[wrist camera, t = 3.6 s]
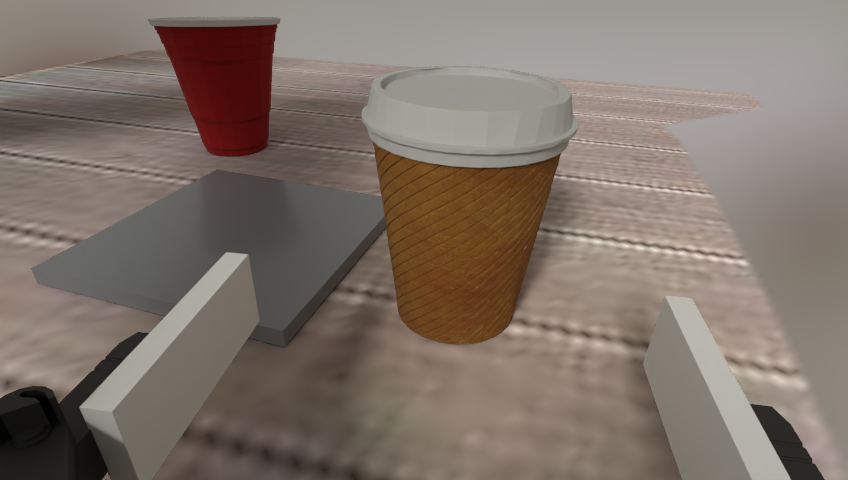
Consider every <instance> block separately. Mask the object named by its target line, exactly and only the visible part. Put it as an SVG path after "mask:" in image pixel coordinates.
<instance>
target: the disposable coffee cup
mask: <svg viewBox="0 0 848 480" xmlns="http://www.w3.org/2000/svg"><path fill="white" fill-rule="evenodd" d="M362 122H363V123H364V125H365V126H366V127H367V128H368V135H369V137H370V139H371V140H372V141H373V144H374V149H375V157H376V162H377V171H378V176H379V182H380V190H381V195H382V203H383V209H384V216H385V222H386V229H387V236H388V243H389V249H390V256H391V262H392V269H393V276H394V282H395V289H396V296H397V303H398V311H399V314H400V316H401V319H402V320H403V321H404V323H405V324H406V325H407V326H408V327H409V328H411V329H412V330H413V331H414V332H416V333H418V334H420V335H422V336H423V337H426V338H429V339H432V340H435V341H438V342H444V343H449V344H471V343H477V342H482V341H485V340H487V339H490V338H492V337H495V336H496V335H498V334H500V333H501V332H502V331H503V330H504V329H505V328H506V327H507V326H508V325H509V323H510V321H511V319H512V314H513V311H514V308H515V304H516V301H517V298H518V294H519V291H520V288H521V284H522V281H523V278H524V274H525V271H526V268H527V265H528V262H529V259H530V255H531V252H532V249H533V245H534V242H535V239H536V235H537V232H538V229H539V226H540V222H541V219H542V216H543V212H544V209H545V206H546V203H547V198H548V195H549V193H550V189H551V185H552V181H553V178H554V175H555V172H556V169H557V166H558V162H559V158H560V155H561V152H563V151H564V150H565V149H566V147H567V146H568V143H569V140H570V139H571V138H572V137H573V136H574V134H575V133H576V132H577V128H578V121H577V120H576V118H575V117H574V116H573V113H572V93H571V91H570V89H569V88H568V87H567V86H565V85H564V84H562V83H560V82H557V81H555V80H552V79H549V78H547V77H543V76H538V75H534V74H529V73H524V72H519V71H514V70H504V69H496V68H486V67H468V66H435V67H420V68H410V69H403V70H398V71H393V72H390V73H387V74H384V75H382V76H379V77H377V78H376V79H375V80H373V82H372V84H371V90H370V95H369V100H368V104H367V105H366V106H365V107H364V108H363V110H362Z"/></svg>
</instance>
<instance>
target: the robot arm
mask: <svg viewBox="0 0 848 480" xmlns="http://www.w3.org/2000/svg"><path fill="white" fill-rule="evenodd" d="M259 321H260V320H259V314H258V308H257V302H256V296H255V290H254V285H253V279H252V273H251V267H250V261H249V255H248V254H240V253H230V252H226V253H225V254H224V255H223V256H222V257H221V258H220V259H219V260H218V261H217V262H216V263H215V265H214V266H213V267H212V268H211V269H210V270H209V271H208V272H207V273H206V274H205V275H204V276H203V277H202V278H201V279H200V280H199V281H198V282H197V284H196V285H195V286H194V287H193V288H192V289H191V290H190V291H189V292H188V293H187V294H186V295H185V296H184V297H183V298H182V299H181V300H180V301H179V303H178V304H177V305H176V306H175V307H174V308H173V309H172V310H171V311H170V312H169V313H168V314H167V315H166V316H165V317H164V318H163V319H162V320H161V321H160V323H159V324H158V325H157V326H156V327H155V328H154V329H153V330H152V331H151V332H150V333H142V332H138V333H136V334H134V335H133V336H131V337H129V338H128V339H126V340H124V341H122V342H121V343H119V344H118V345H117V346H116V347H115V348H114V349H113V350H112V351H111V352H110V353H109V354H108V355H107V356H106V359H105V360H102V361H101V362H100V363H99V364H98V365H97V366H96V367H95V369H94V371H91V372H90V373H89V374H88V375H87V376H86V377H85V378H84V379H83V380H82V381H81V382H80V383H79V384H78V385H77V386H76V387H75V388H74V389H73V390H72V391H71V392H70V393H69V394H68V395H67V396H66V397H65V398H64V399H63V400H62V401H61V402H60V403H59V404H58V401H57V399H56V397H55V395H54V393H53V391H52V390H51V389H49V388H47V387H43V386H32V387H27V388H22V389H19V390H16V391H14V392H11V393H9V394H7V395H5V396H3V397H2V398H0V480H102V479H103V477H104V476H105V475H106V473H107V472H108V474H109V476H110V479H111V480H152V479H153V478H154V476H155V475H156V473H157V472H158V470H159V469H160V467H161V466H162V464H163V463H164V461H165V460H166V458H167V457H168V455H169V454H170V453H171V451H172V450H173V448H174V447H175V445H176V444H177V442H178V441H179V439H180V438H181V436H182V435H183V433H184V432H185V430H186V429H187V427H188V426H189V424H190V423H191V421H192V420H193V419H194V417H195V416H196V414H197V413H198V411H199V410H200V408H201V407H202V405H203V404H204V402H205V401H206V399H207V398H208V396H209V395H210V393H211V392H212V390H213V389H214V388H215V386H216V385H217V383H218V382H219V380H220V379H221V377H222V376H223V374H224V373H225V371H226V370H227V368H228V367H229V365H230V364H231V362H232V361H233V359H234V358H235V356H236V355H237V354H238V352H239V351H240V349H241V348H242V346H243V345H244V343H245V342H246V340H247V339H248V337H249V336H250V334H251V333H252V331H253V330H254V328H255V327H256V325H257V324H258V323H259ZM643 366H644V369H645V372H646V375H647V378H648V381H649V384H650V387H651V390H652V393H653V396H654V399H655V402H656V405H657V407H658V410H659V413H660V416H661V419H662V422H663V425H664V428H665V431H666V434H667V437H668V440H669V443H670V446H671V449H672V452H673V455H674V458H675V461H676V464H677V467H678V470H679V472H680V475H681V478H682V480H824V478H823V476H822V475H821V473H820V472H819V470H818V468H817V467H816V465H815V464H813V463H812V458H811V457H810V455H809V454H808V452H807V450H806V449H805V448H803V446H802V442H801V440H800V439H799V437H798V436H797V434H796V432H795V431H794V429H793V427H792V426H791V424H790V423H789V422H787V421H786V420H785V419H784V418H783V417H782V416H781V415H780V414H779V413H778V412H777V411H776V410H775V409H774V408H772V407H770V406H762V405H753V404H749V402H748V400H747V398H746V396H745V395H744V393H743V391H742V389H741V387H740V385H739V384H738V382H737V380H736V378H735V376H734V374H733V373H732V371H731V369H730V367H729V365H728V364H727V362H726V360H725V358H724V356H723V354H722V353H721V351H720V349H719V347H718V345H717V343H716V342H715V340H714V338H713V336H712V334H711V332H710V331H709V329H708V327H707V325H706V323H705V322H704V320H703V318H702V316H701V314H700V312H699V311H698V309H697V307H696V305H695V303H694V301H693V300H692V298H684V297H674V296H665V297H664V300H663V303H662V307H661V310H660V313H659V316H658V319H657V322H656V325H655V328H654V332H653V335H652V338H651V341H650V344H649V347H648V350H647V353H646V356H645V360H644V363H643Z"/></svg>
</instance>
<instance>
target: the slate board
mask: <svg viewBox="0 0 848 480" xmlns="http://www.w3.org/2000/svg"><path fill="white" fill-rule="evenodd" d="M385 228H386V222H385V216H384V209H383V203H382V196H375V195H369V194H363V193H357V192H351V191H345V190H338V189H332V188H326V187H320V186H314V185H308V184H302V183H295V182H289V181H283V180H277V179H271V178H265V177H259V176H252V175H246V174H240V173H234V172H228V171H222V170H216V171H214V172H212V173H210V174H208V175H206V176H204V177H202V178H201V179H199V180H197V181H195V182H193V183H191V184H189V185H187V186H185V187H184V188H182V189H180V190H178V191H176V192H174V193H172V194H170V195H169V196H167V197H165V198H163V199H161V200H159V201H157V202H155V203H153V204H152V205H150V206H148V207H146V208H144V209H142V210H140V211H138V212H137V213H135V214H133V215H131V216H129V217H127V218H125V219H123V220H121V221H120V222H118V223H116V224H114V225H112V226H110V227H108V228H106V229H105V230H103V231H101V232H99V233H97V234H95V235H93V236H91V237H89V238H88V239H86V240H84V241H82V242H80V243H78V244H76V245H74V246H73V247H71V248H69V249H67V250H65V251H63V252H61V253H59V254H57V255H56V256H54V257H52V258H50V259H48V260H46V261H44V262H42V263H41V264H39V265H37V266H35V267H33V268H31V269H32V271H33V274H34V276H35V278H36V281H37V283H39V284H43V285H46V286H50V287H54V288H58V289H62V290H66V291H70V292H74V293H77V294H81V295H85V296H89V297H93V298H97V299H101V300H104V301H108V302H112V303H116V304H120V305H124V306H128V307H131V308H135V309H139V310H143V311H147V312H151V313H155V314H159V315H162V316H166V315H167V314H168V313H169V312H170V311H171V310H172V309H173V308H174V307H175V306H176V305H177V304H178V303H179V301H180V300H181V299H182V298H183V297H184V296H185V295H186V294H187V293H188V292H189V291H190V290H191V289H192V288H193V287H194V286H195V285H196V284H197V282H198V281H199V280H200V279H201V278H202V277H203V276H204V275H205V274H206V273H207V272H208V271H209V270H210V269H211V268H212V267H213V266H214V265H215V263H216V262H217V261H218V260H219V259H220V258H221V257H222V256H223V255H224V254H225V253H226V252H230V253H240V254H248V255H249V261H250V267H251V273H252V279H253V285H254V290H255V296H256V302H257V308H258V314H259V320H260V321H259V323H258V324H257V325H256V327H255V328H254V330H253V331H252V333H251V334H250V336H249V337H248V338H251V339H255V340H259V341H263V342H267V343H271V344H274V345H278V346H282V347H285V346H286V345H287V344H288V343H289V342H290V340H291V339H292V338H293V337H294V336H295V335H296V333H297V332H298V331H299V330H300V329H301V327H302V326H303V325H304V324H305V323H306V322H307V320H308V319H309V318H310V317H311V316H312V314H313V313H314V312H315V311H316V310H317V308H318V307H319V306H320V305H321V304H322V303H323V301H324V300H325V299H326V298H327V297H328V295H329V294H330V293H331V292H332V291H333V289H334V288H335V287H336V286H337V285H338V284H339V282H340V281H341V280H342V279H343V278H344V276H345V275H346V274H347V273H348V272H349V270H350V269H351V268H352V267H353V266H354V265H355V263H356V262H357V261H358V260H359V259H360V257H361V256H362V255H363V254H364V253H365V251H366V250H367V249H368V248H369V247H370V246H371V244H372V243H373V242H374V241H375V240H376V238H377V237H378V236H379V235H380V234H381V232H382V231H383V230H384V229H385Z"/></svg>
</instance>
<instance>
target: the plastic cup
mask: <svg viewBox="0 0 848 480" xmlns="http://www.w3.org/2000/svg"><path fill="white" fill-rule="evenodd" d="M148 20H149V22H150V24H151V25H152V26H154V27H155V30H157V33H158V34H159V36H160V39H161V42H162V43H163V44H164V47H165V49H166V52H167V55H168V56H169V57H170V60H171V62H172V65H173V68H174V70H175V73H176V75H177V78H178V81H179V83H180V86H181V89H182V91H183V94H184V96H185V99H186V102H187V104H188V107H189V110H190V112H191V115H192V117H193V118H194V120H195V123H196V125H197V128H198V131H199V133H200V136H201V139H202V142H203V143H204V145H205V146H206V149H207V151H208V152H209V153H212V154H214V155H221V156H240V155H247V154H252V153H255V152H258V151H261V150H262V149H264V148H266V145H267V139H268V135H269V112H270V106H271V82H272V58H273V53H274V41H275V32H276V28H277V24H279V23H280V18H273V17H185V18H184V17H183V18H155V19H148Z"/></svg>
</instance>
